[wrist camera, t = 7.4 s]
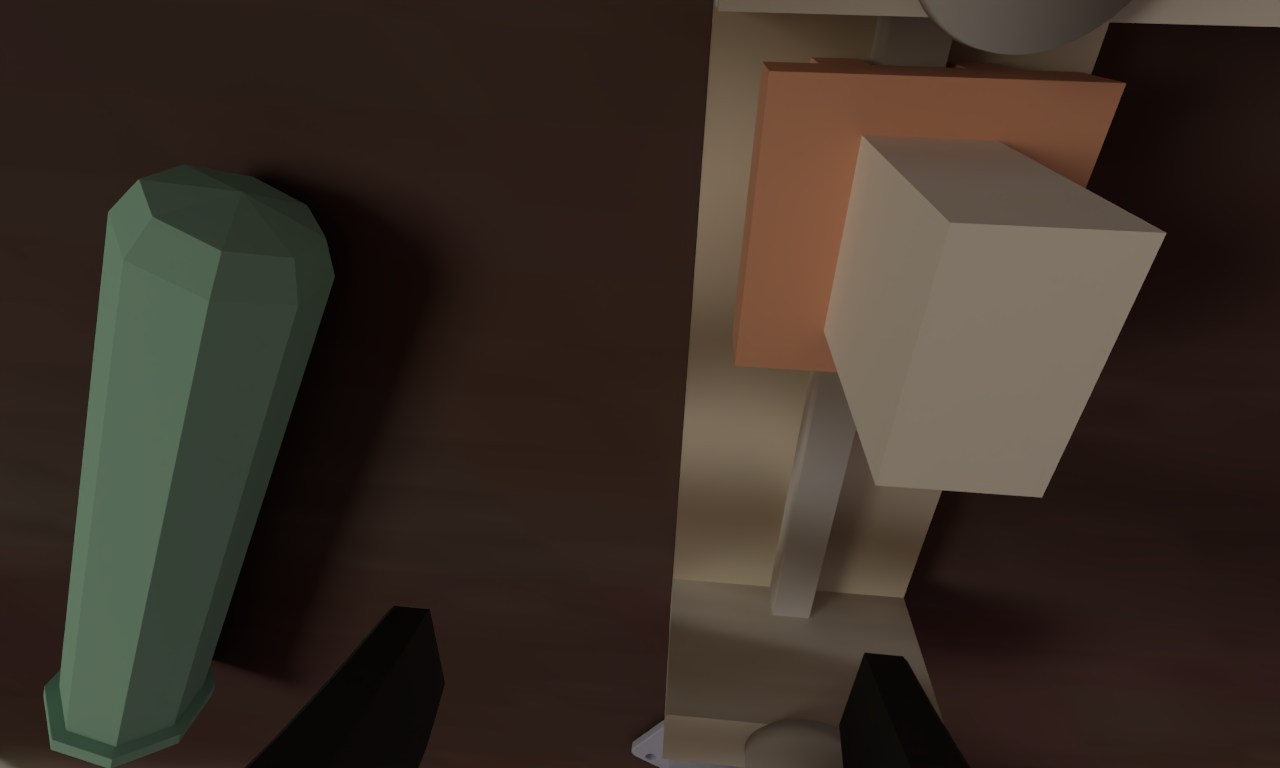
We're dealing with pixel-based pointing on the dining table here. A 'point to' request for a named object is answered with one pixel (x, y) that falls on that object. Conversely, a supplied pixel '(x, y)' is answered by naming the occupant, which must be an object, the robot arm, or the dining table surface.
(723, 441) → the rail
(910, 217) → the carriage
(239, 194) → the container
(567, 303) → the dining table surface
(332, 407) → the dining table surface
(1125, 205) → the dining table surface
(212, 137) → the dining table surface
